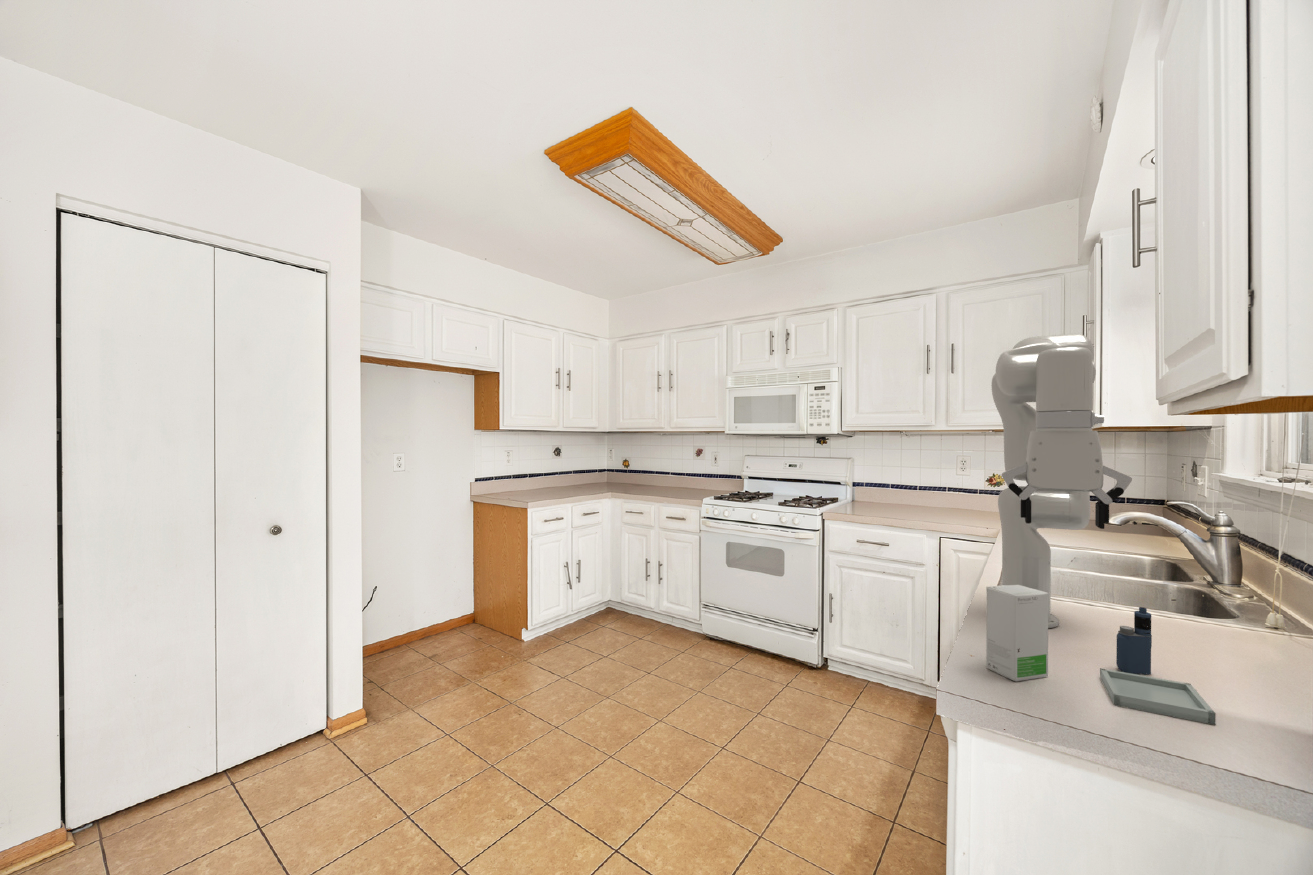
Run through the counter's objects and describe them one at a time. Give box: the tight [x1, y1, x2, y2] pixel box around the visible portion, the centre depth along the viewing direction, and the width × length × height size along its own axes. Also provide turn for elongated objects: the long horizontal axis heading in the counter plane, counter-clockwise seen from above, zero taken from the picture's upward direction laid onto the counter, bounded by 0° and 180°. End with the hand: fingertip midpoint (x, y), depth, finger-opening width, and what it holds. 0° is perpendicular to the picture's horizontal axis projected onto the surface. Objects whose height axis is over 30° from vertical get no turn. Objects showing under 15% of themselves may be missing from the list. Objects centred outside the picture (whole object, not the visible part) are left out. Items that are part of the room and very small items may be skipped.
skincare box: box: [985, 584, 1049, 682], centre depth 100 cm, size 8×7×16 cm
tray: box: [1099, 668, 1217, 726], centre depth 90 cm, size 11×12×2 cm
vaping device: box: [1115, 606, 1153, 676], centre depth 100 cm, size 3×5×12 cm, turn 78°
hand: (1062, 524), depth 90 cm, fingers open, 9 cm apart
